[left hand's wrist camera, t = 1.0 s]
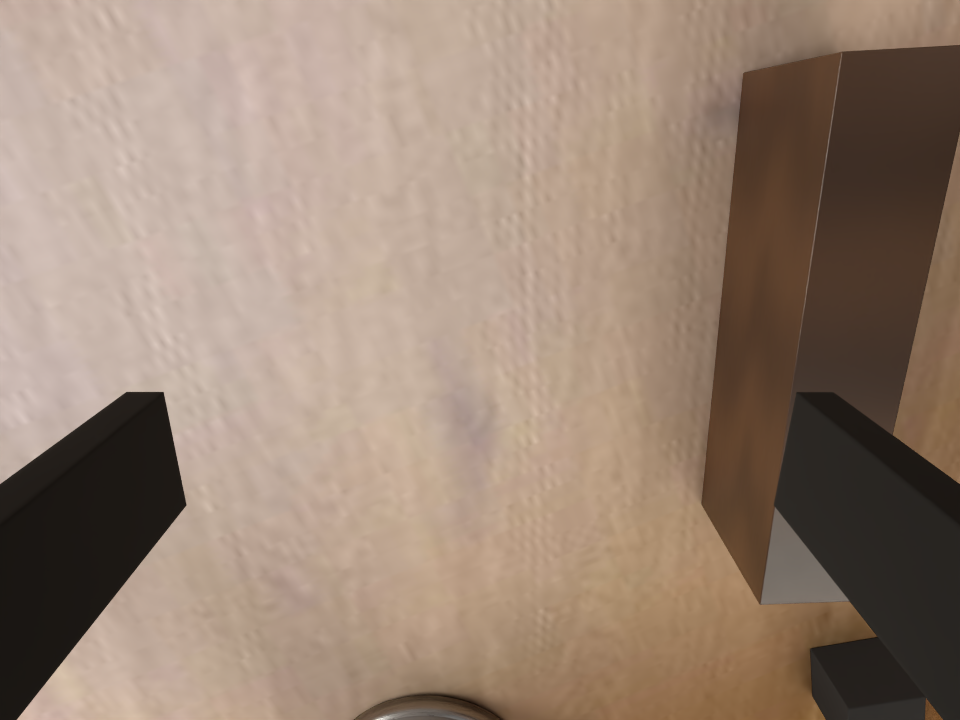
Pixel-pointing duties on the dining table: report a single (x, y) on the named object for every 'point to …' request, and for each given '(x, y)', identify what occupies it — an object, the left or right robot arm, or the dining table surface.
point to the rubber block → (863, 683)
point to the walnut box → (821, 275)
